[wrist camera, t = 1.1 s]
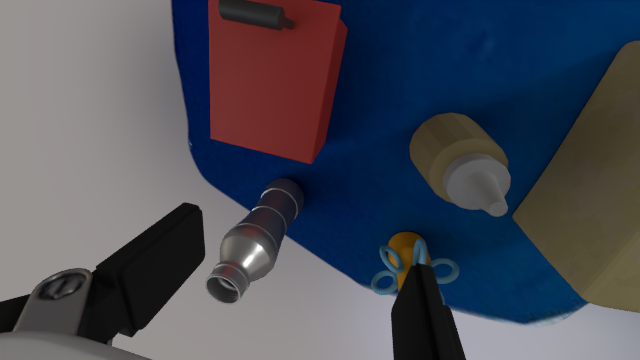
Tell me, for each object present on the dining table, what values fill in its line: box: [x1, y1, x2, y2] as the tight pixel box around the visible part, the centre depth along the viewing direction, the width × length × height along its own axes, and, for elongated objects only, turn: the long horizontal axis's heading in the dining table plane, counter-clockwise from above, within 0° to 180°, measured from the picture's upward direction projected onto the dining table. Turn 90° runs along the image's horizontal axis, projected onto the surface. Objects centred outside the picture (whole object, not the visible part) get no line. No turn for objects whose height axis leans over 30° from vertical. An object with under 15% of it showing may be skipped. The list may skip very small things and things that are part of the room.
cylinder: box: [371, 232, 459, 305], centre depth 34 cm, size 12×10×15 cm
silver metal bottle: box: [205, 178, 304, 305], centre depth 32 cm, size 6×7×20 cm
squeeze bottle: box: [409, 113, 510, 217], centre depth 25 cm, size 8×8×18 cm
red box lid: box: [209, 0, 341, 164], centre depth 24 cm, size 15×13×5 cm
